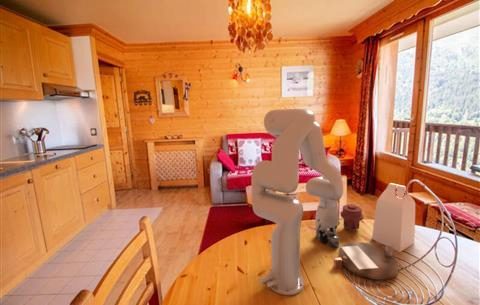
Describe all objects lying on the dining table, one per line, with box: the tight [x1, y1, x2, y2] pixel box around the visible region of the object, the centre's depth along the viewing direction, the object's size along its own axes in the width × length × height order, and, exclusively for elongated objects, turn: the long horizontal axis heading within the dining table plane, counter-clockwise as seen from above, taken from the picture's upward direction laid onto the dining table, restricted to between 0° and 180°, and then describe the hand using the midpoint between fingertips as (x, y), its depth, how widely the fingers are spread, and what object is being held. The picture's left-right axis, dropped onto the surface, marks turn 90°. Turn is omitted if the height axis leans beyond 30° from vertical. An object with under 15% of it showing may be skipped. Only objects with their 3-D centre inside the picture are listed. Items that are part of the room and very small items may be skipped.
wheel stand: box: [333, 256, 343, 270], centre depth 92 cm, size 15×8×4 cm, turn 116°
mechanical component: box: [340, 203, 364, 234], centre depth 118 cm, size 12×10×10 cm
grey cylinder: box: [315, 229, 340, 249], centre depth 109 cm, size 4×12×4 cm, turn 26°
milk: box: [371, 182, 416, 253], centre depth 106 cm, size 12×12×26 cm
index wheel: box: [338, 241, 399, 280], centre depth 92 cm, size 20×20×6 cm
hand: (327, 240), depth 109 cm, fingers closed on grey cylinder, 4 cm apart
